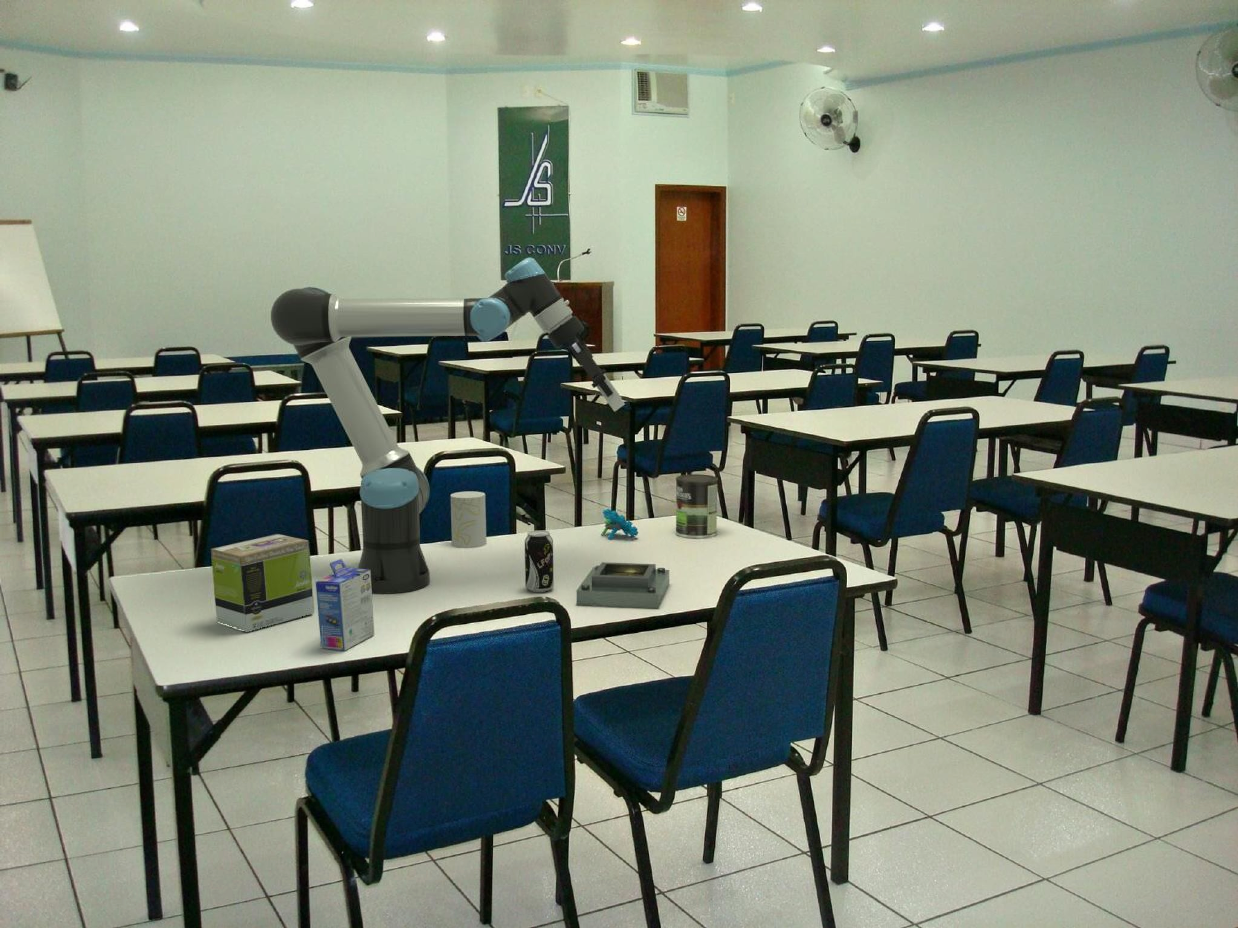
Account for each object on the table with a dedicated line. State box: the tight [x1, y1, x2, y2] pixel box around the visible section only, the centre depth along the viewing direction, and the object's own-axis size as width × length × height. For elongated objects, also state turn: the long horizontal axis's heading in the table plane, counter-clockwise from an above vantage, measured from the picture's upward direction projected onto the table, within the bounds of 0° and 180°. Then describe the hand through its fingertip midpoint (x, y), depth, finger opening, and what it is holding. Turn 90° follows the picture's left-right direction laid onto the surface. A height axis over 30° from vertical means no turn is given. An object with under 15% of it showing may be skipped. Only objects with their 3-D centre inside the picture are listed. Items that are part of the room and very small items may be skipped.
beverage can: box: [524, 530, 554, 593], centre depth 235 cm, size 6×6×12 cm
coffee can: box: [675, 473, 719, 540], centre depth 285 cm, size 10×10×14 cm
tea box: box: [210, 533, 315, 633], centre depth 216 cm, size 15×10×15 cm
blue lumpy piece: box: [600, 508, 639, 540], centre depth 281 cm, size 11×6×10 cm
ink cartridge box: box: [315, 558, 375, 652], centre depth 203 cm, size 10×6×14 cm, turn 160°
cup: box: [450, 490, 487, 549], centre depth 276 cm, size 8×8×12 cm
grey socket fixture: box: [576, 561, 670, 610], centre depth 232 cm, size 18×16×5 cm
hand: (618, 404), depth 250 cm, fingers open, 13 cm apart
